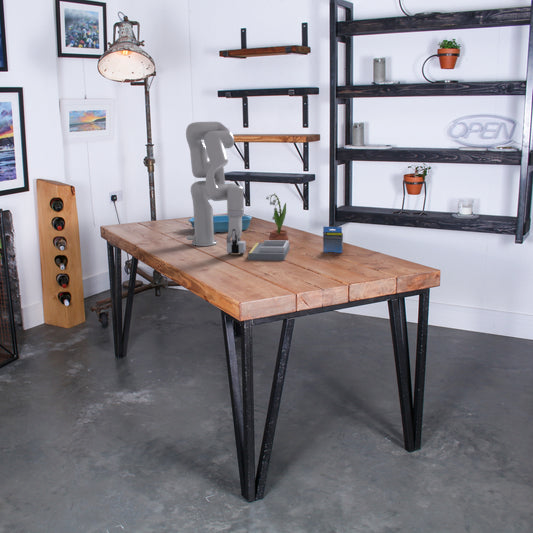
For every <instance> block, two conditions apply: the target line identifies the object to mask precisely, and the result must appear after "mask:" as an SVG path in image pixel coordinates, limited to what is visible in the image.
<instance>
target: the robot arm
mask: <svg viewBox="0 0 533 533" xmlns="http://www.w3.org/2000/svg"><path fill="white" fill-rule="evenodd" d="M185 138H186V142H187V145H188V148H189V151H190V152H189V153H190V165H191V172H192V176H194V178H197V179H205V180H198V181H195V182H193V183H192V184H191V186H190V194H191V199H192V206H193V217H194V228H193V229H194V234H193V235H186V240H188V241H192V242H191V245H193V246H195V245H196V246H197V247H209V246H210V247H211V246H215V245H217V244H218V240H217V239H215V237H214V236H215V235H214V234H215V233H214V228H213V216H214V208H213V206H212V205H211V203H210V202H209V200H212V201H214V202H220V201H222V202H223V201H226V207H227V208H226V210H227V213H226V215H227V216H228V217H229V232H227V236H228V237H229V238H230V239H231V241H232V254H240V253H239V245H238V241H242V240H241V237H242V235H243V231H242V217H243V216H244V215H245V214H244V213H245V212H244V211H245V208H244V207H245V206H244V205H245V204H244V203H245V202H244V200H245V199H244V198H245V197H244V187H243V186H241V185H237V184H235V183H226V179H225V168H224V167H225V166H226V165H227V164H228V162H229V159H228V154H227V153H226V152H227V151H226V149H232V148H233V147H234V144H235V136H234V135H233V133H232V130H230V129H229V128H228V127H226V126H225V125H224V124H223V123H222V122H219V121H195V122H191V123H189V124H188V125H187V127H186V130H185Z"/></svg>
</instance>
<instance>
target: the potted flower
mask: <svg viewBox="0 0 533 533" xmlns="http://www.w3.org/2000/svg"><path fill="white" fill-rule="evenodd" d="M273 196H274V197H273ZM272 197H273V200H272ZM265 199H266V200H269V206H271V205H272V206H274V208H273V211H274V212H273V216H272V218H271V219H272V220H273V221H274V222H275V224H276V226H277V229H274V230H269V237H268V240H282V241H289V235H288V231H287V230H285V229H282V226H283V224H284V221H285V218H286V214H287V202H284V205H283V207H282V206H281V201H280V198H279V197H278V195H277V194H276V193H274V194H271V195H269V196H266V198H265ZM277 205H278V207H279V209H278V207H276V206H277ZM281 207H282V208H281ZM278 210H279V211H278Z"/></svg>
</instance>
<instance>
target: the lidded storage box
mask: <svg viewBox="0 0 533 533" xmlns="http://www.w3.org/2000/svg"><path fill="white" fill-rule="evenodd" d="M246 243H247V242H246V241H245V240H241V241H238V245H239V253H238V254H239V255H244V254H245V252H246V250H247V244H246ZM226 253H227V254H228V255H232V254H233V253H232V240H231V238H229V237H228V235H227V236H226Z"/></svg>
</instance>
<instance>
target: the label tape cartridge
mask: <svg viewBox="0 0 533 533" xmlns="http://www.w3.org/2000/svg"><path fill="white" fill-rule="evenodd" d="M322 230H323V232H322V236H323V237H322V241H323V243H322V246H323V249H322V251H323V253H328V252H334V253H336V254H342V253H343V252H344V233H343V229H342V226H323V229H322ZM334 253H333V254H334Z"/></svg>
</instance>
